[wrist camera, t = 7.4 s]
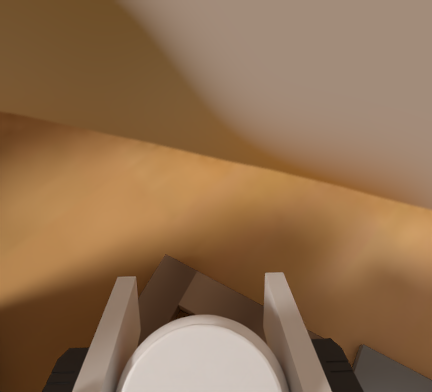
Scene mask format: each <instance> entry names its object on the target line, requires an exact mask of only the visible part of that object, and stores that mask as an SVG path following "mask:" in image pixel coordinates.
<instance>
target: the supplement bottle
mask: <svg viewBox="0 0 432 392" xmlns="http://www.w3.org/2000/svg"><path fill="white" fill-rule="evenodd" d="M116 392H289V388H288V384H287V381H286V378H285V375H284V373H283V371H282V368H281V366H280V364H279V362H278V360H277V358H276V357H275V355H274V354H273V352H272V351H271V349H270V348H269V347H268V346H267V344H266V343H265V342H264V341H263V340H262V339H261V338H260V337H259V336H258V335H257V334H255V333H254V332H253V331H251V330H250V329H249V328H247V327H246V326H244V325H242V324H240V323H238V322H236V321H234V320H231V319H228V318H224V317H220V316H216V315H192V316H187V317H183V318H180V319H177V320H174V321H172V322H169V323H168V324H166V325H164V326H162V327H161V328H159V329H157V330H156V331H155V332H153V333H152V334H151V335H150V336H148V337H147V338H146V339H145V340H144V341H143V342H142V343H141V344H140V345H139V347H138V348H137V349H136V350H135V352H134V353H133V355H132V356H131V357H130V359H129V360H128V362H127V364H126V366H125V368H124V370H123V372H122V375H121V377H120V380H119V383H118V386H117V390H116Z"/></svg>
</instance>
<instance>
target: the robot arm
mask: <svg viewBox="0 0 432 392" xmlns="http://www.w3.org/2000/svg"><path fill="white" fill-rule="evenodd" d="M263 329H264V333H265V337H266V341H267V345H268V347H269V348H270V349H271V351H272V352H273V354H274V355H275V357H276V358H277V360H278V362H279V364H280V366H281V368H282V371H283V373H284V375H285V378H286V381H287V384H288V388H289V392H364V391H363V389H362V387H361V385H360V383H359V381H358V379H357V377H356V375H355V373H353V369H352V367H351V365H350V364H349V363H348V360H347V358H346V356H345V354H344V352H343V350H342V348H341V347H340V346H339V345H337V344H336V343H335V342H334V341H333V340H332V339H331V338H329V339H310V337H309V334H308V332H307V330H306V327H305V325H304V322H303V320H302V317H301V315H300V312H299V310H298V308H297V305H296V303H295V300H294V298H293V295H292V293H291V291H290V288H289V286H288V283H287V281H286V278H285V276H284V273H283V272H275V273H265V290H264V317H263ZM140 332H141V328H140V316H139V304H138V293H137V281H136V276H128V277H117V280H116V283H115V285H114V288H113V290H112V293H111V295H110V298H109V300H108V303H107V305H106V308H105V310H104V313H103V315H102V318H101V320H100V323H99V325H98V328H97V330H96V333H95V335H94V338H93V340H92V343H91V345H90V348H69V349H68V350H67V351H66V352H65V353H64V354H63V355H62V356H61V357H60V358H59V359H58V360H57V362H56V364H55V366H54V368H53V370H52V374H51V375H50V377H49V379H48V381H47V384H46V385H45V387H44V389H43V391H42V392H116V390H117V386H118V383H119V380H120V377H121V375H122V372H123V370H124V368H125V366H126V364H127V362H128V360H129V359H130V357H131V356H132V355H133V353H134V352H135V350H136V349H137V345H138V341H139V337H140Z"/></svg>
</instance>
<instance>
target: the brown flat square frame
mask: <svg viewBox="0 0 432 392" xmlns="http://www.w3.org/2000/svg"><path fill="white" fill-rule="evenodd" d="M138 304H139V316H140V328H141V332H140V337H139V341H138V345H137V348H138V347H139V345H140V344H141V343H142V342H143V341H144V340H145V339H146V338H147V337H148V336H150V335H151V334H152V333H153V332H155V331H156V330H157V329H159V328H161V327H162V326H164V325H166V324H168V323H169V322H172V321H174V320H175V318H176V317H177V315H178V313H179V311H180V310H182V311H184V312H186V313H187V314H189V315H191V316H192V315H216V316H220V317H224V318H228V319H231V320H234V321H236V322H238V323H240V324H242V325H244V326H246V327H247V328H249V329H250V330H251V331H253V332H254V333H255V334H257V335H258V336H259V337H260V338H261V339H262V340H263V341H264V342H265V343H266V344H267V341H266V337H265V333H264V329H263V317H264V306H262V305H260V304H258V303H256V302H255V301H253V300H251V299H249V298H247V297H245V296H243V295H241V294H240V293H238V292H236V291H234V290H232V289H230V288H228V287H226V286H225V285H223V284H221V283H219V282H217V281H215V280H213V279H211V278H210V277H208V276H206V275H204V274H202V273H200V272H198V271H196V270H195V269H193V268H191V267H189V266H187V265H185V264H183V263H181V262H180V261H178V260H176V259H174V258H172V257H170V256H168V255H166V254H165V256H164V258H163V259H162V261H161V262H160V264H159V266H158V267H157V269H156V270H155V272H154V274H153V275H152V277H151V279H150V280H149V282H148V283H147V285H146V287H145V288H144V290H143V291H142V293H141V295H140V296H139V298H138ZM306 330H307V329H306ZM307 332H308V334H309V337H310V339H324V338H322V337H320V336H318V335H316V334H315V333H313V332H311V331H309V330H307ZM267 346H268V345H267Z"/></svg>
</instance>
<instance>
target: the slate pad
mask: <svg viewBox="0 0 432 392" xmlns="http://www.w3.org/2000/svg"><path fill="white" fill-rule="evenodd" d="M352 369H353V373H355V375H356V377H357V379H358V381H359V383H360V385H361V387H362V389H363V391H364V392H432V380H430V379H428V378H426V377H425V376H423V375H421V374H419V373H417V372H415V371H413V370H411V369H409V368H407V367H405V366H404V365H402V364H400V363H398V362H396V361H394V360H392V359H390V358H388V357H386V356H385V355H383V354H381V353H379V352H377V351H375V350H373V349H371V348H369V347H367V346H365V345H360V347H359V350H358V353H357V356H356V359H355V362H354V365H353V368H352Z"/></svg>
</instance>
